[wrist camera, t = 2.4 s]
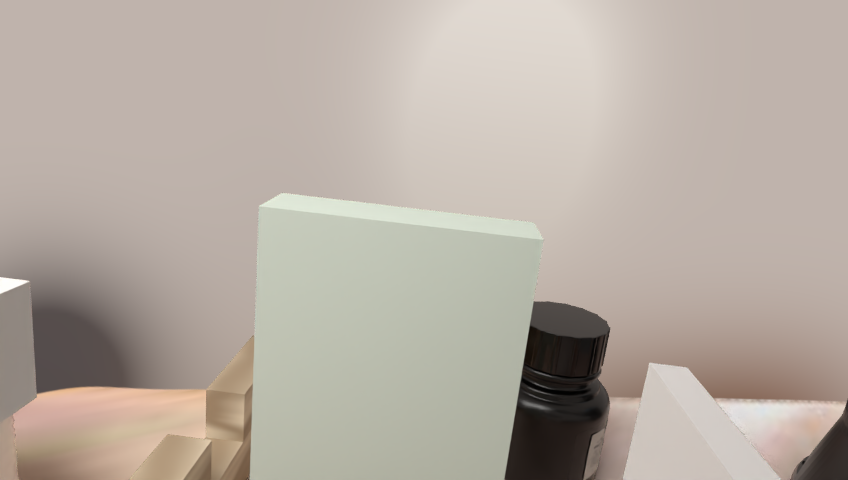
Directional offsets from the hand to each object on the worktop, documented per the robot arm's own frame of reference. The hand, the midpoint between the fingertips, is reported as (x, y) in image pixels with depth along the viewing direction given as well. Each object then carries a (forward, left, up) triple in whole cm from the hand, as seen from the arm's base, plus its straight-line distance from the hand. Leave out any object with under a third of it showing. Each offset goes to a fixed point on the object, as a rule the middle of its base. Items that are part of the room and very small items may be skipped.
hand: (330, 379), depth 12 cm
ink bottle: (-11, -29, -21) cm, 38 cm away
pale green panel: (0, -12, -21) cm, 24 cm away
